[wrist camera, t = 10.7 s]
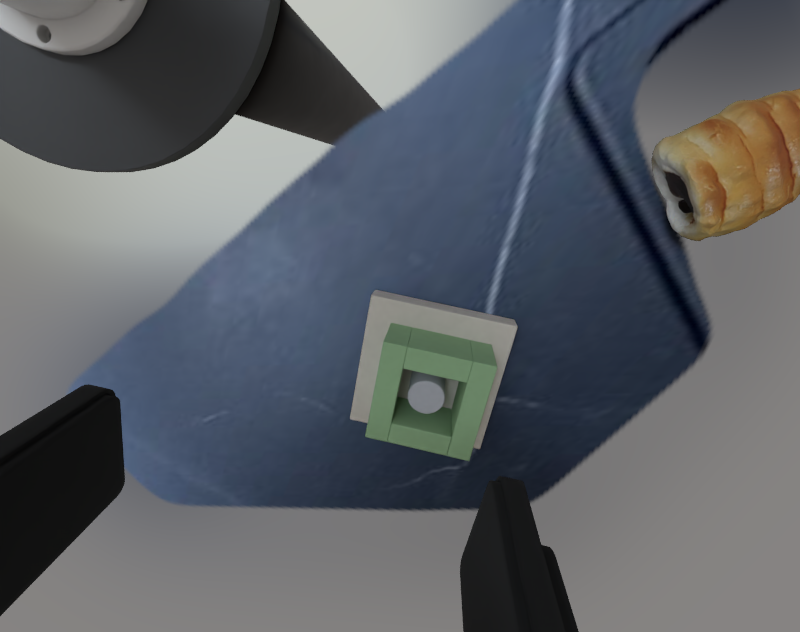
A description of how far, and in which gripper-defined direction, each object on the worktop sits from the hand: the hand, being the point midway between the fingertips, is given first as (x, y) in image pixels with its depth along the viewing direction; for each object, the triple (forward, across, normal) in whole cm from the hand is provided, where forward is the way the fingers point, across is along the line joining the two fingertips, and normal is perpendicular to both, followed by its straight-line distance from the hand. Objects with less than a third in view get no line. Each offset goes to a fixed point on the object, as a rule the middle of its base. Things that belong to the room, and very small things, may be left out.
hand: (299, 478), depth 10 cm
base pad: (+19, -4, +6) cm, 20 cm away
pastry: (+19, -18, -11) cm, 29 cm away
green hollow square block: (+18, -4, +6) cm, 19 cm away
